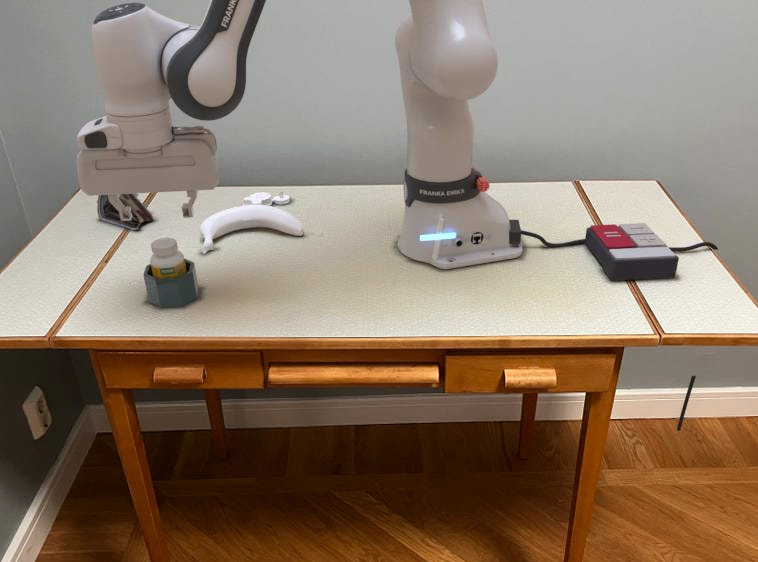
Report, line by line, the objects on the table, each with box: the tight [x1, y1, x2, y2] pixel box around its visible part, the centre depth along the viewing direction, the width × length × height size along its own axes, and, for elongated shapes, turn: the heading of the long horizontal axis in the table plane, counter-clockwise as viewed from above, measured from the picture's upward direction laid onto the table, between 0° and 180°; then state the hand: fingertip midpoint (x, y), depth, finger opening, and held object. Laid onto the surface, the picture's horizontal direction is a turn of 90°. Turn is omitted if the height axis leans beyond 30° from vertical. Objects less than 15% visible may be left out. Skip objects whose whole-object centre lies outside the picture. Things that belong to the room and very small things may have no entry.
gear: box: [233, 191, 291, 206], centre depth 153 cm, size 9×9×2 cm
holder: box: [143, 257, 200, 309], centre depth 122 cm, size 8×8×5 cm
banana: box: [199, 205, 304, 254], centre depth 139 cm, size 5×19×15 cm
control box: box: [584, 222, 680, 281], centre depth 129 cm, size 11×4×15 cm
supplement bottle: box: [149, 237, 187, 279], centre depth 120 cm, size 5×5×10 cm
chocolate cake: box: [96, 193, 154, 231], centre depth 149 cm, size 10×7×12 cm
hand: (157, 217), depth 115 cm, fingers open, 8 cm apart
